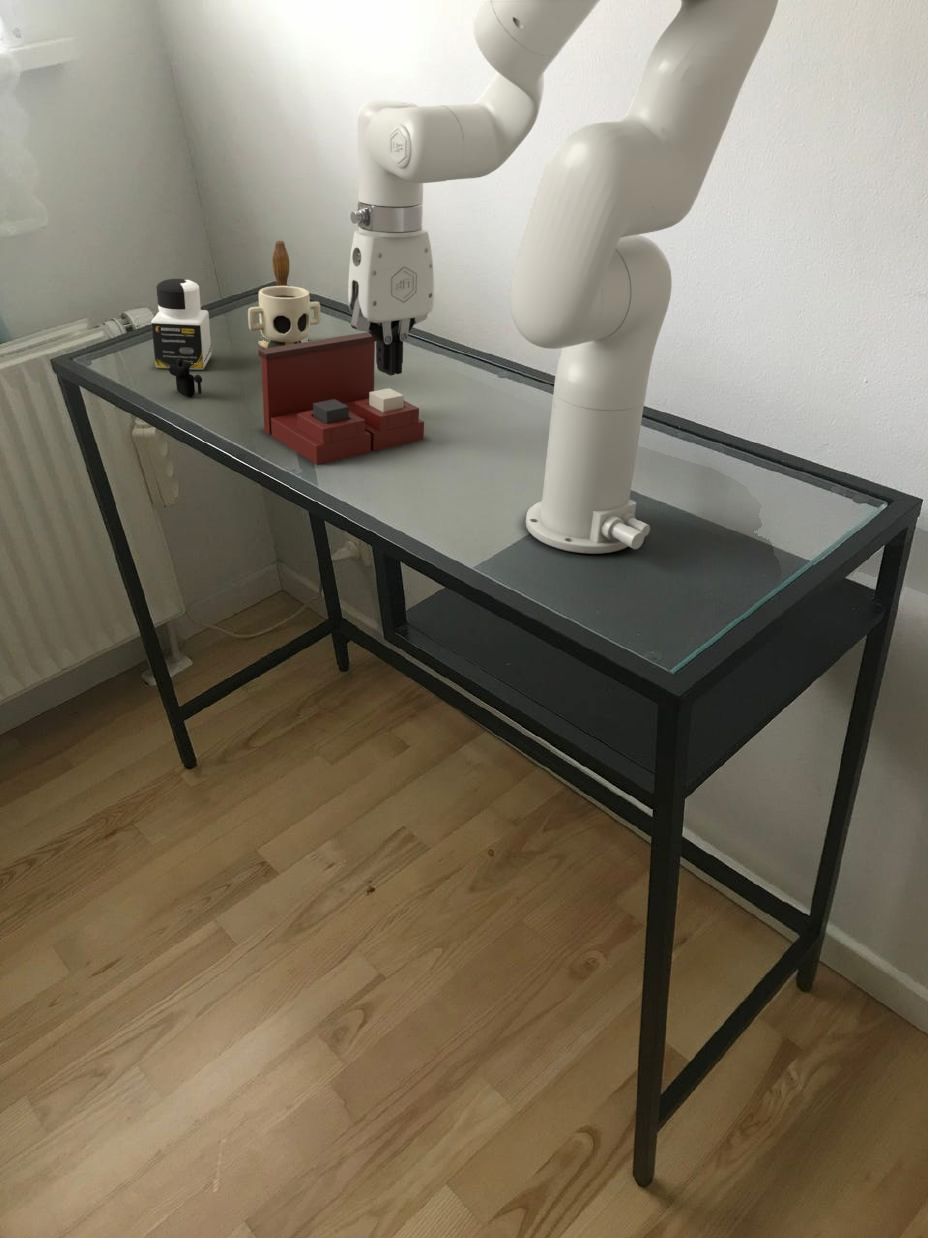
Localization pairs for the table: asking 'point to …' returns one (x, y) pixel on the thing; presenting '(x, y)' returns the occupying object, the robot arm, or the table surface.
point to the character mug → (284, 315)
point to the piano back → (316, 374)
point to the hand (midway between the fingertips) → (389, 371)
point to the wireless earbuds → (185, 378)
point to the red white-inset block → (389, 424)
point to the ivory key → (386, 400)
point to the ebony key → (330, 411)
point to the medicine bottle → (180, 325)
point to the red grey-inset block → (322, 436)
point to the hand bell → (279, 270)
